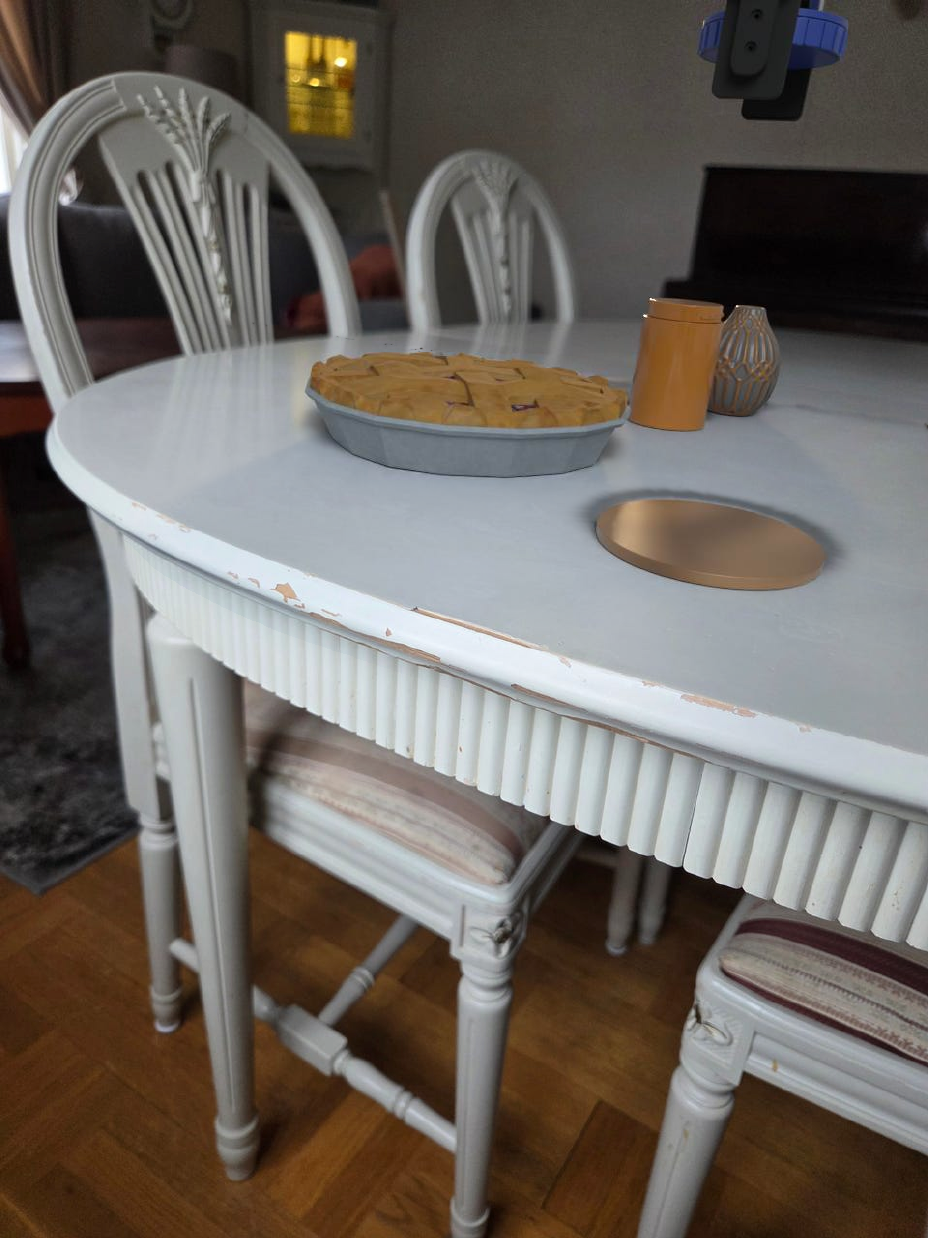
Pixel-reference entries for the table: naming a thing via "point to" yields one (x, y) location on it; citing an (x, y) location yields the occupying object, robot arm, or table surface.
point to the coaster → (710, 544)
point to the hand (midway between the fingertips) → (759, 106)
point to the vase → (745, 363)
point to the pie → (466, 413)
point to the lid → (812, 42)
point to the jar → (676, 364)
